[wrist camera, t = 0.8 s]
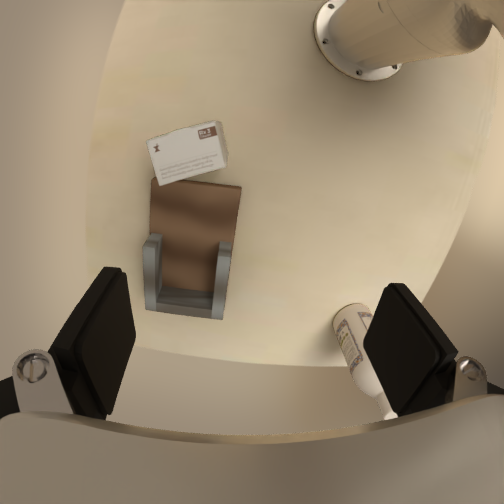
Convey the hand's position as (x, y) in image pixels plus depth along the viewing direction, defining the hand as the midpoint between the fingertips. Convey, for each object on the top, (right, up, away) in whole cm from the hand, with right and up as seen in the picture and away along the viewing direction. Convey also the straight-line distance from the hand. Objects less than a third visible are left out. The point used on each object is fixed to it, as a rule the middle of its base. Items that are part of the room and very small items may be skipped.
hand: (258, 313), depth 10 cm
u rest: (-8, +3, +28) cm, 30 cm away
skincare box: (-6, +15, +22) cm, 28 cm away
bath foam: (+17, -9, +36) cm, 41 cm away
